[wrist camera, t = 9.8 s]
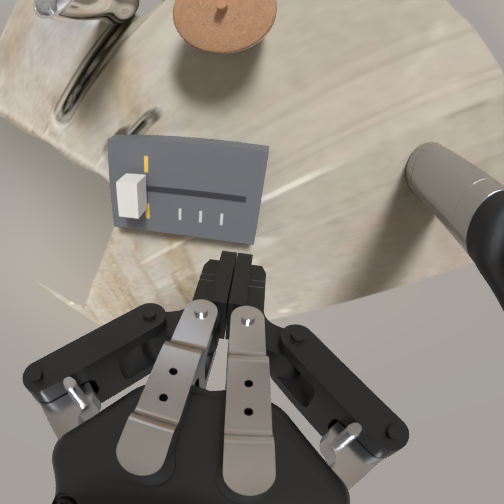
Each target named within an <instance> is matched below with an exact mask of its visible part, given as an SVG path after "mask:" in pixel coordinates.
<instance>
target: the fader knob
mask: <svg viewBox="0 0 504 504" xmlns="http://www.w3.org/2000/svg"><path fill="white" fill-rule="evenodd" d="M116 189H117V201H118V212H119V216H120V217H128V218H137V219H139V218H140V216H141V215H142V214H143V212H144V211H145V210H146V209H147V195H146V175H144V174H130V173H126V174H125V175H124V176H122V177H121V178H120V179H119V180H118V181H117V182H116Z"/></svg>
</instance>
